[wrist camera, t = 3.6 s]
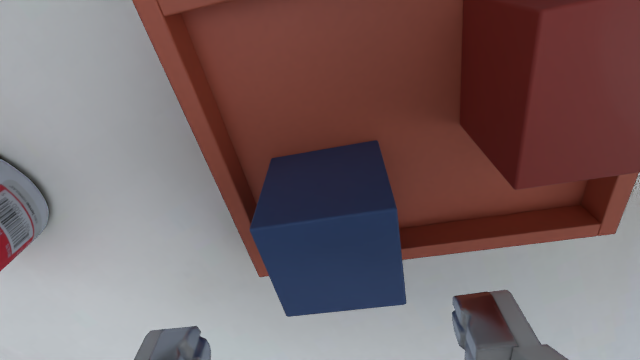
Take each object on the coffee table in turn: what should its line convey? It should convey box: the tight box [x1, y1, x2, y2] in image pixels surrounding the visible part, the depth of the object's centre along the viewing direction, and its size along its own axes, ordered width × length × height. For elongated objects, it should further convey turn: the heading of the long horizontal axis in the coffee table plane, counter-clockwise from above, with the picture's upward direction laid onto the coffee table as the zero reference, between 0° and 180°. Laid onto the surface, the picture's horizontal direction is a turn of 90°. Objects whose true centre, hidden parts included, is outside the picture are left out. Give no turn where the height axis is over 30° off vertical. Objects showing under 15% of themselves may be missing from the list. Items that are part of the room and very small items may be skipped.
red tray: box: [132, 0, 639, 277], centre depth 14 cm, size 18×14×2 cm
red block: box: [460, 0, 640, 190], centre depth 10 cm, size 5×5×5 cm
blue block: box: [250, 140, 406, 317], centre depth 14 cm, size 5×5×5 cm
